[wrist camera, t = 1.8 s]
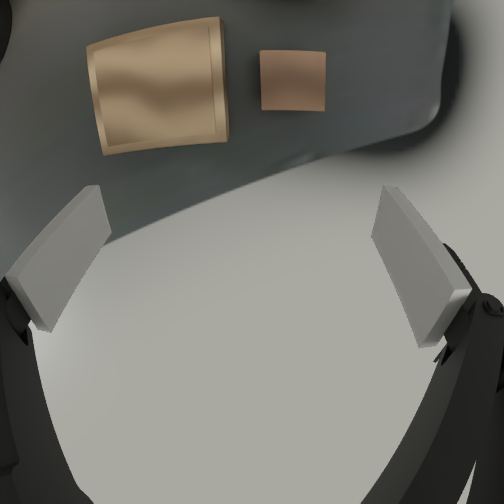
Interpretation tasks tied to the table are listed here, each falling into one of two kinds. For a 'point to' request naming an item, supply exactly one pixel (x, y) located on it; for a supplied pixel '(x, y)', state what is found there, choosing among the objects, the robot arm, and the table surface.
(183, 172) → the table surface
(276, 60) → the block
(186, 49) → the base
